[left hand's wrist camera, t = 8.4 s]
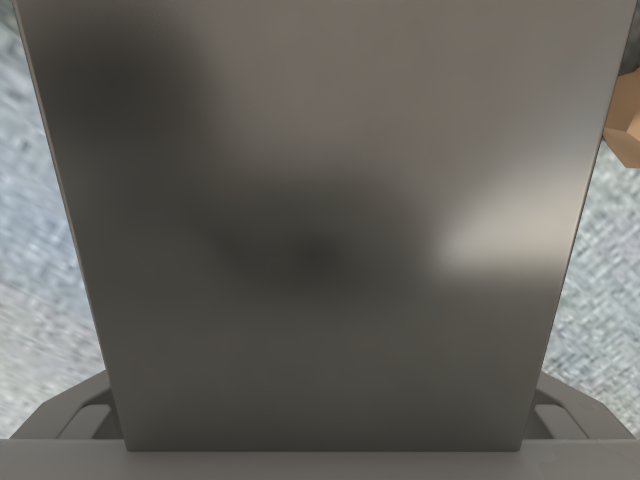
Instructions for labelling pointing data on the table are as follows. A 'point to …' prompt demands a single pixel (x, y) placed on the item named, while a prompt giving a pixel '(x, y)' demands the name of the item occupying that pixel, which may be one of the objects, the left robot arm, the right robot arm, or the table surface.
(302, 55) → the bar
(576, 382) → the table surface
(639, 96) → the squash
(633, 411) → the table surface
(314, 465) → the left robot arm
